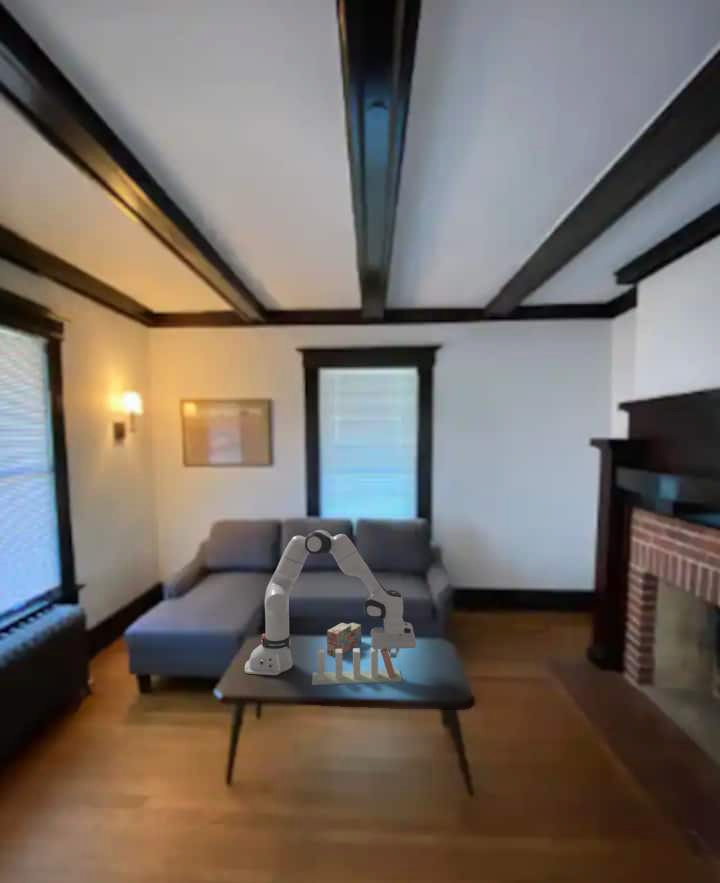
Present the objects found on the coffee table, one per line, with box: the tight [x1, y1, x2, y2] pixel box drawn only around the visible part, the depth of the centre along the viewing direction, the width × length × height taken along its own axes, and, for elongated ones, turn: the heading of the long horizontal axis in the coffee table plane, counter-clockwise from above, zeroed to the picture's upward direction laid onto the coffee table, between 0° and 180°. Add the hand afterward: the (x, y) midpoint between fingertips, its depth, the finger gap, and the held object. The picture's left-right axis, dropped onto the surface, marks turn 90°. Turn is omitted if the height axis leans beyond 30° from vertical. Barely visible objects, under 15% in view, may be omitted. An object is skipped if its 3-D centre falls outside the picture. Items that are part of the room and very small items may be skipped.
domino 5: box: [379, 649, 395, 677], centre depth 217 cm, size 3×4×12 cm
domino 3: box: [352, 647, 361, 679], centre depth 216 cm, size 3×4×12 cm
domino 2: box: [334, 649, 343, 680], centre depth 215 cm, size 3×4×12 cm
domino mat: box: [311, 669, 403, 686], centre depth 216 cm, size 40×10×1 cm, turn 93°
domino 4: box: [370, 647, 379, 678], centre depth 216 cm, size 3×4×12 cm
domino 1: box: [317, 648, 326, 680], centre depth 215 cm, size 3×4×12 cm
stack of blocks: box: [326, 622, 362, 658], centre depth 246 cm, size 21×6×12 cm, turn 145°
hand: (393, 657), depth 217 cm, fingers closed
